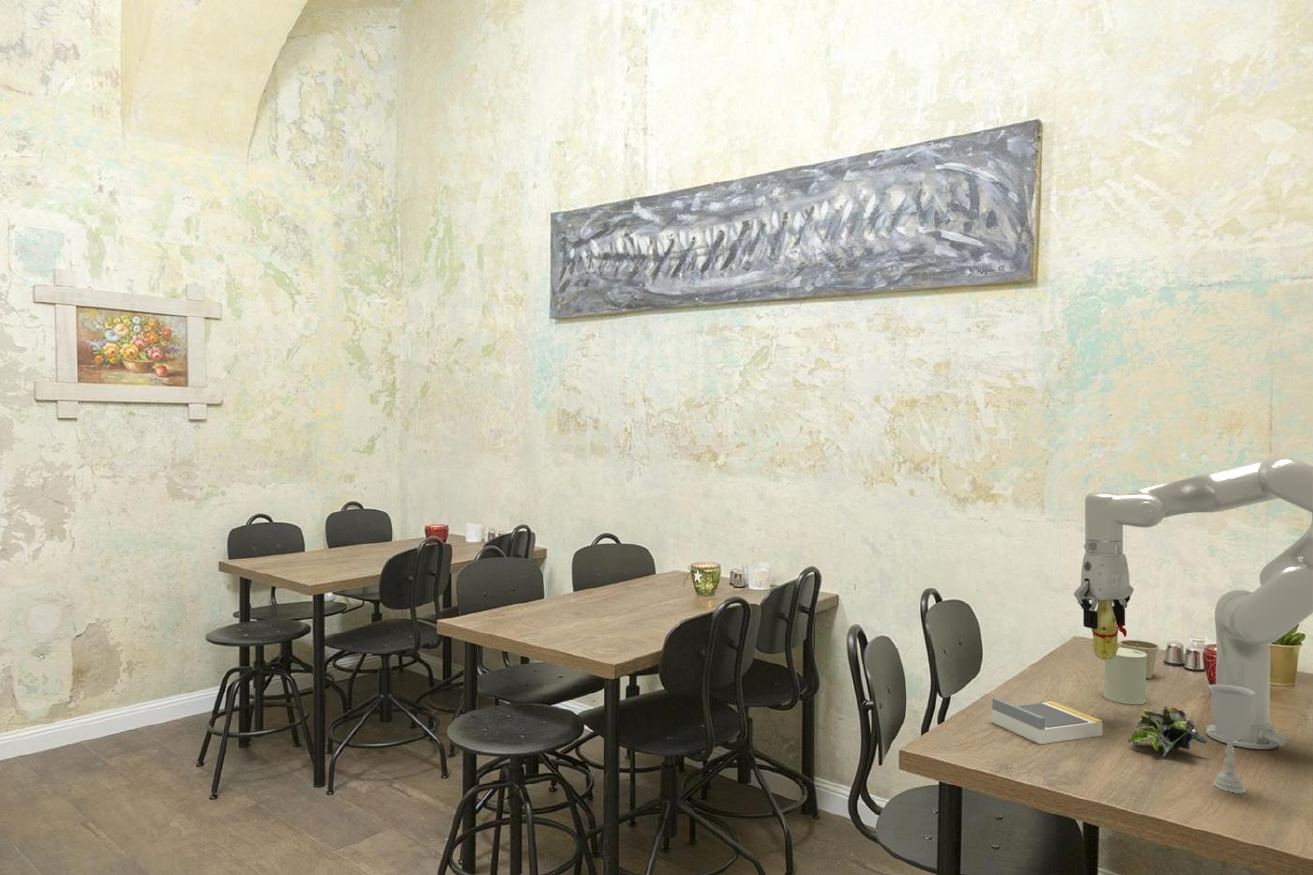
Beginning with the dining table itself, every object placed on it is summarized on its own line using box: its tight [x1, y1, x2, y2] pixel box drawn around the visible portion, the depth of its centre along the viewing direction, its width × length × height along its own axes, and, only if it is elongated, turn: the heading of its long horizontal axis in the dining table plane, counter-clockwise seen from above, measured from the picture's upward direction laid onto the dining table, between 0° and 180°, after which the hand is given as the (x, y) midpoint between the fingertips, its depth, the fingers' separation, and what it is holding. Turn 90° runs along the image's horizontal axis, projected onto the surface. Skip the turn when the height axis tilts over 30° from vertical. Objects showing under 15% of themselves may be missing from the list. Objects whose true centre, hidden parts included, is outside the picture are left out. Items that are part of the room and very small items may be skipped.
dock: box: [991, 697, 1103, 745], centre depth 187 cm, size 14×17×5 cm
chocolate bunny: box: [1091, 600, 1127, 661], centre depth 192 cm, size 7×11×15 cm, turn 150°
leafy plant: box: [1127, 706, 1208, 760], centre depth 174 cm, size 11×11×12 cm
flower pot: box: [1118, 639, 1160, 680], centre depth 230 cm, size 9×9×9 cm
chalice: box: [1207, 683, 1255, 794], centre depth 157 cm, size 7×7×18 cm
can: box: [1102, 647, 1147, 706], centre depth 210 cm, size 9×9×12 cm
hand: (1104, 625), depth 192 cm, fingers closed on chocolate bunny, 7 cm apart
